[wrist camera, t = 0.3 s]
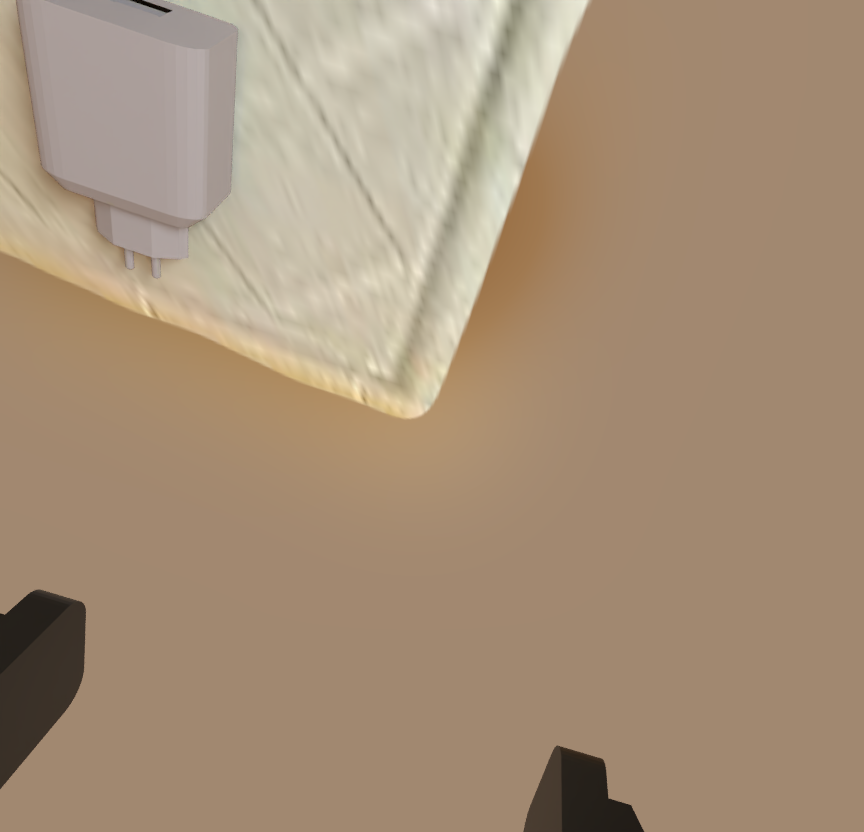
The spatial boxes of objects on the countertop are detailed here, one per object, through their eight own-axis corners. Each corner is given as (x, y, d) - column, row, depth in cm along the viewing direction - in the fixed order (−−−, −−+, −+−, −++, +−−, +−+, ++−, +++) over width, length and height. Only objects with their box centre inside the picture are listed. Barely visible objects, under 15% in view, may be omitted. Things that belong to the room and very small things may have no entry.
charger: (94, 229, 45) (66, -36, 35) (231, 276, 45) (244, 24, 35) (48, 267, 42) (2, -15, 31) (197, 317, 42) (200, 52, 32)
